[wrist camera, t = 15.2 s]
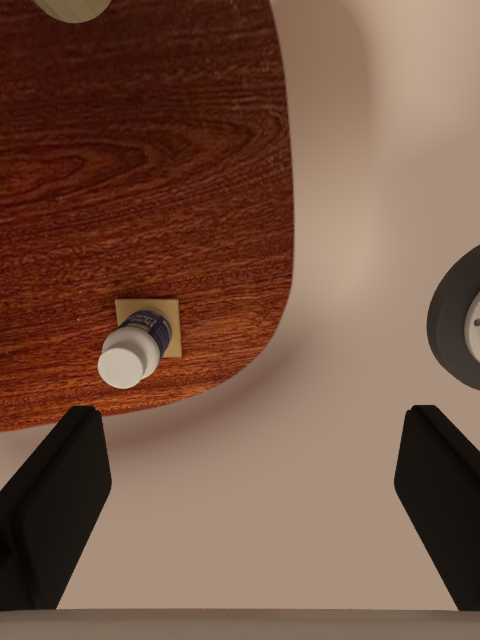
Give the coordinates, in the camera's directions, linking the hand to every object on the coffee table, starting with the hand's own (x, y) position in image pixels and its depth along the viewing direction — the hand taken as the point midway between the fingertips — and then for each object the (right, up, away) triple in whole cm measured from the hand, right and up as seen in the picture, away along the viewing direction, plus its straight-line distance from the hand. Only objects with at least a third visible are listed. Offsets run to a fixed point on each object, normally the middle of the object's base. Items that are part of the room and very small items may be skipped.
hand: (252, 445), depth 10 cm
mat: (-11, +3, +29) cm, 31 cm away
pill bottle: (-11, +3, +28) cm, 31 cm away
